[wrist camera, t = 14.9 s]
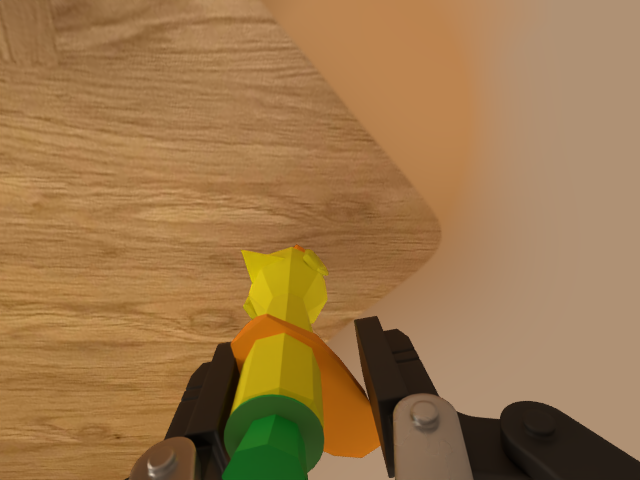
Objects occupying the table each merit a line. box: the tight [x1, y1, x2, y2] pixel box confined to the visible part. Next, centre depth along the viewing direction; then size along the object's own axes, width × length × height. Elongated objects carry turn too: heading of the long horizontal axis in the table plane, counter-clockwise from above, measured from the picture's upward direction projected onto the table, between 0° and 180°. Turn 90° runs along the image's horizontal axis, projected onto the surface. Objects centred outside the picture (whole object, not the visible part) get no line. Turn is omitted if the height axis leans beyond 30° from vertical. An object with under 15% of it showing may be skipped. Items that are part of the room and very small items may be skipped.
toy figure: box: [222, 244, 381, 480], centre depth 13 cm, size 7×4×12 cm, turn 40°
